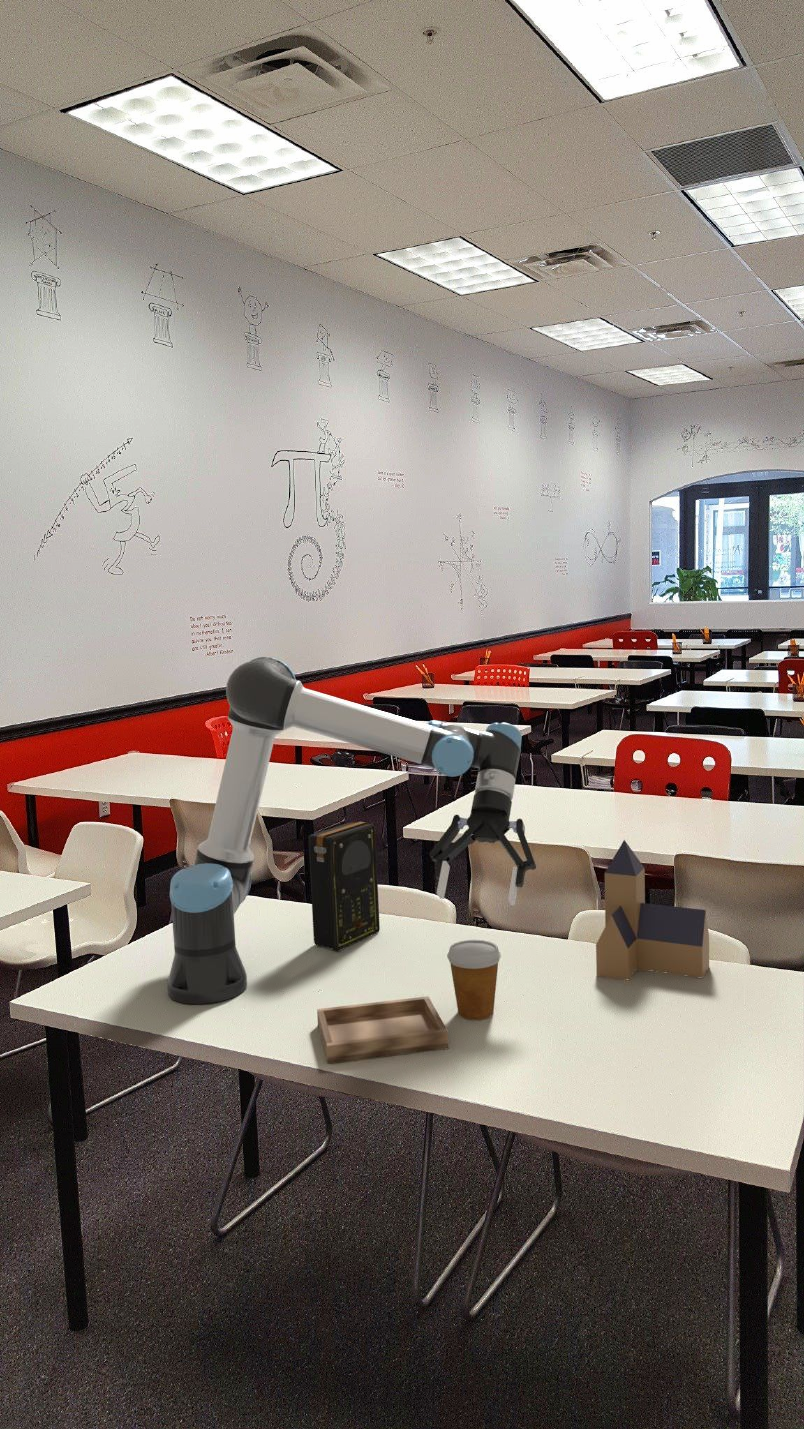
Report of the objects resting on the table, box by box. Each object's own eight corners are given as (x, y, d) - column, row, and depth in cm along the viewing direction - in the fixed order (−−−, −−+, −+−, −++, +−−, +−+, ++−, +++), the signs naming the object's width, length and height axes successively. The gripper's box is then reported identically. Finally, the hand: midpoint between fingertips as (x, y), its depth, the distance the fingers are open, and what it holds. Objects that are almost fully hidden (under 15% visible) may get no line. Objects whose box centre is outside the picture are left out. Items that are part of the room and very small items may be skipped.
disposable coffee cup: (513, 1010, 179) (511, 945, 178) (480, 1028, 172) (477, 961, 171) (471, 997, 185) (469, 935, 184) (438, 1014, 179) (435, 949, 177)
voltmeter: (338, 954, 211) (333, 838, 208) (308, 946, 216) (302, 833, 213) (384, 932, 223) (379, 822, 220) (354, 926, 228) (349, 818, 225)
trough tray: (327, 1063, 161) (326, 1046, 161) (317, 1025, 176) (317, 1009, 176) (448, 1048, 165) (447, 1031, 165) (429, 1012, 180) (428, 996, 179)
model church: (615, 954, 205) (613, 834, 202) (709, 967, 196) (708, 842, 193) (596, 975, 194) (594, 849, 191) (695, 990, 185) (694, 858, 182)
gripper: (427, 784, 197) (406, 885, 186) (553, 791, 188) (538, 897, 178) (436, 802, 203) (416, 900, 192) (559, 809, 194) (545, 913, 184)
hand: (475, 899), depth 185 cm, fingers open, 13 cm apart
